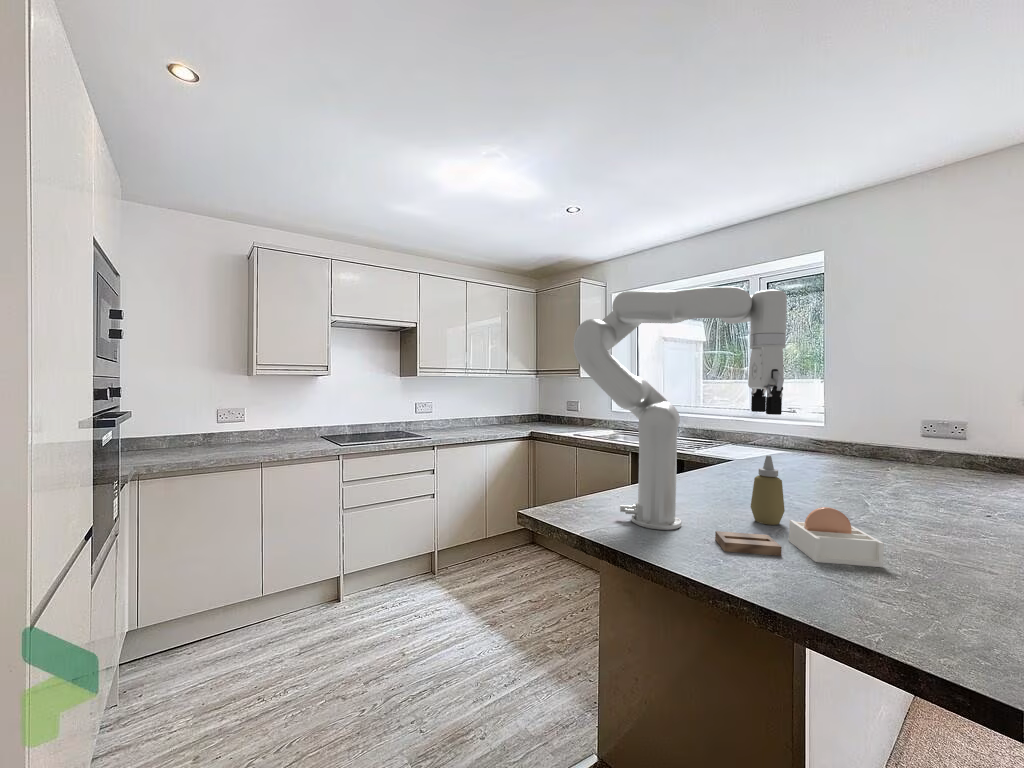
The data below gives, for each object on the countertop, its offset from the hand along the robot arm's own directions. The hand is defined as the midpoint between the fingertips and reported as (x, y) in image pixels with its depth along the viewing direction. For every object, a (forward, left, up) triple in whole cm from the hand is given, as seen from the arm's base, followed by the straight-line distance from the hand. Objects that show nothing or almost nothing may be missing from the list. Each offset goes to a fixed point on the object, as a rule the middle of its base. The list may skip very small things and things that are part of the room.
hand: (765, 413), depth 112 cm
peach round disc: (+11, -7, -25) cm, 28 cm away
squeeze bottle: (+6, +14, -31) cm, 34 cm away
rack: (+12, -8, -30) cm, 33 cm away
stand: (-6, -8, -30) cm, 32 cm away
